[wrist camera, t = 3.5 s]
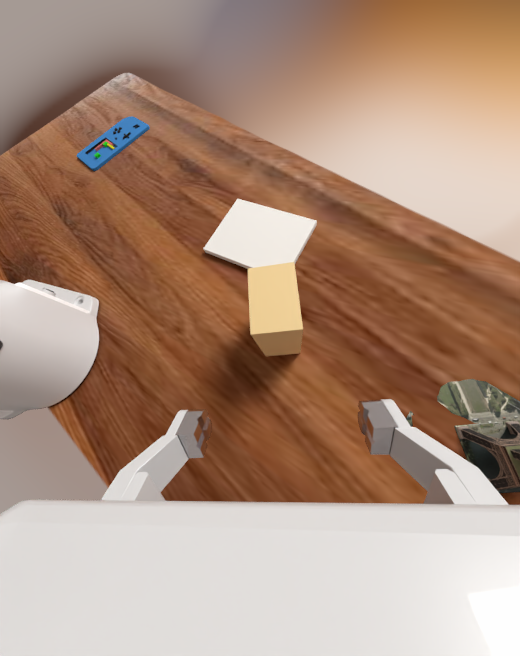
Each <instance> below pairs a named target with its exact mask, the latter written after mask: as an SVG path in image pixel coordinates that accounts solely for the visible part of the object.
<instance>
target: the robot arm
mask: <svg viewBox="0 0 520 656" xmlns="http://www.w3.org/2000/svg"><path fill="white" fill-rule="evenodd" d="M98 307H99V301H98V299H96V298H94V297H91V296H89V295H85V294H81V293H78V292H74V291H70V290H66V289H63V288H59V287H55V286H52V285H48V284H44V283H41V282H37V281H33V280H26V281H24V282H22V283H17V284H12V283H9V282H6V281H2V280H0V419H11V418H13V417H15V416H17V415H19V414H21V413H23V412H24V411H27V410H30V409H41V408H46V407H49V406H51V405H54V404H56V403H58V402H60V401H61V400H63V399H64V398H66V397H67V396H68V395H69V394H71V393H72V392H73V391H74V390H75V389H76V388H77V387H78V386H79V385H80V383H81V382H82V381H83V380H84V378H85V377H86V375H87V374H88V372H89V370H90V368H91V367H92V364H93V362H94V360H95V357H96V354H97V350H98V345H99V331H98V326H97V320H96V317H97V312H98ZM358 407H359V409H360V411H359V412H358V423H359V427H360V430H361V432H362V433H363V434H364V435H365V442H366V445H367V447H368V449H369V452H370V454H389V455H390V456H391V457H392V458H393V459H394V460H395V461H396V462H397V463H398V464H399V465H400V466H401V467H403V468H404V469H405V470H406V471H407V472H408V473H409V474H410V475H411V476H412V477H413V478H414V479H415V480H416V481H417V482H418V483H419V484H420V485H422V486H423V487H424V488H425V489H426V490H427V491H428V493H427V496H426V499H425V501H424V504H389V503H303V502H211V501H165V499H164V497H163V496H162V494H161V493H160V492H161V491H162V490H163V489H164V487H165V486H166V485H167V484H168V483H169V482H170V480H171V479H172V478H173V477H174V476H175V474H176V473H177V472H178V471H179V470H180V469H181V467H182V466H183V465H184V464H185V463H186V462H187V460H188V458H202V457H204V455H205V452H206V449H207V443H206V441H207V440H208V439H209V438H210V436H211V433H212V423H211V420H210V419H209V418H208V417H207V416H208V412H207V410H206V409H197V410H180V411H179V412H178V413H177V415H176V417H175V418H174V420H173V422H172V424H171V426H170V428H169V430H168V431H167V433H166V435H165V436H162V437H161V438H159V439H158V440H157V441H156V442H155V443H153V444H152V445H151V446H150V447H148V448H147V449H146V450H145V451H144V452H142V453H141V454H140V455H139V456H137V457H136V458H135V459H134V460H132V461H131V462H130V463H129V464H128V465H126V466H125V467H124V468H123V469H121V470H120V471H119V473H118V474H117V476H116V477H115V479H114V480H113V482H112V483H111V485H110V487H109V488H108V490H107V491H106V493H105V495H104V496H103V497H102V499H101V500H45V499H29V500H24V501H21V502H19V503H17V504H16V505H14V506H12V507H10V508H9V509H7V510H5V511H4V512H3V513H1V514H0V656H520V505H509V504H508V503H507V502H506V501H505V500H504V498H503V497H502V496H501V495H500V493H499V492H498V491H497V490H496V489H495V487H494V486H493V485H492V484H491V483H490V481H489V480H488V479H487V478H486V477H485V475H484V474H483V473H482V472H481V470H480V469H479V468H478V467H476V466H475V465H473V464H471V463H470V462H468V461H467V460H465V459H464V458H462V457H460V456H459V455H457V454H456V453H454V452H453V451H451V450H450V449H448V448H446V447H445V446H443V445H442V444H440V443H439V442H437V441H436V440H434V439H432V438H431V437H429V436H428V435H426V434H425V433H423V432H421V431H420V430H418V429H417V428H415V427H411V426H410V424H409V423H408V421H407V420H406V419H405V417H404V416H403V414H402V413H401V411H400V410H399V408H398V407H397V405H396V404H395V402H394V401H393V400H392V399H387V400H369V401H359V405H358Z"/></svg>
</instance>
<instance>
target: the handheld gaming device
mask: <svg viewBox="0 0 520 656" xmlns="http://www.w3.org/2000/svg"><path fill="white" fill-rule="evenodd" d="M147 130H149V126H148V125H147V124H146V123H144V122H142V121H140V120H139V119H137V118H135V117H127V118H124V119H123V120H121V121H120V122H118V123H117V124H116V125H115V126H113V127H112V128H111V129H109V130H108V131H107V132H105V133H104V134H103V135H101V136H100V137H99V138H98V139H96V140H95V141H94V142H92V143H91V144H90V145H88V146H87V147H86V148H84V149H83V150H82V151H81V152H79V153H78V154H77V157H78V158H79V159H80V160H81V161H82V162H83V163H85V164H86V165H87V166H88V167H89V168H91V169H92V170H93V171H96V170H98V169H99V168H101V167H102V166H103V165H104V164H106V163H107V162H108V161H109V160H111V159H112V158H113V157H115V156H116V155H117V154H118V153H120V152H121V151H122V150H123V149H125V148H126V147H127V146H128V145H130V144H131V143H132V142H134V141H135V140H136V139H137V138H139V137H140V136H141V135H142V134H144V133H145V132H146V131H147Z"/></svg>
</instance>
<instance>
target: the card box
mask: <svg viewBox="0 0 520 656" xmlns="http://www.w3.org/2000/svg"><path fill="white" fill-rule="evenodd" d="M248 288H249V312H250V335H251V336H252V337H253V339H254V340H255V342H256V343H257V345H258V346H259V347H260V349H261V350H262V352H263V353H264V355H265V356H277V355H288V354H300V350H301V342H302V333H303V326H302V318H301V310H300V303H299V295H298V288H297V280H296V272H295V265H294V262H290V263H283V264H276V265H269V266H262V267H255V268H248Z"/></svg>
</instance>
